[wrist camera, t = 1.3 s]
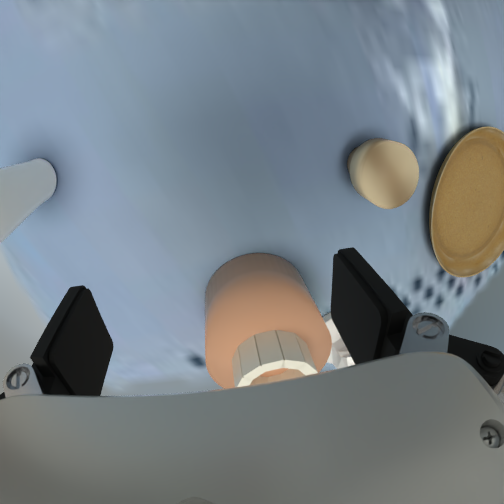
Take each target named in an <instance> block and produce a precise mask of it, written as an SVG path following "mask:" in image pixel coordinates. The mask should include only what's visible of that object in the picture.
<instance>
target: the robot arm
mask: <svg viewBox="0 0 504 504" xmlns="http://www.w3.org/2000/svg"><path fill="white" fill-rule="evenodd" d="M331 318H332V321H333V323H334V325H335V327H336V328H337V330H338V332H339V334H340V336H341V338H342V340H343V342H344V344H345V346H346V348H347V350H348V352H349V354H350V356H351V357H352V359H353V361H354V363H355V365H351V366H347V367H343V368H339V369H334V370H330V371H325V372H321V373H316V374H311V375H306V376H301V377H296V378H291V379H285V380H280V381H274V382H268V383H262V384H255V385H248V386H241V387H234V388H226V389H217V390H208V391H198V392H187V393H174V394H158V395H136V396H135V395H134V396H100V394H101V390H102V387H103V383H104V379H105V376H106V372H107V369H108V365H109V362H110V358H111V355H112V351H113V342H112V339H111V337H110V335H109V333H108V331H107V328H106V326H105V324H104V322H103V319H102V317H101V315H100V313H99V310H98V308H97V306H96V303H95V301H94V298H93V296H92V293H91V291H90V290H89V289H86V287H85V286H75V287H70V288H69V290H68V292H67V293H66V295H65V296H64V298H63V300H62V301H61V303H60V305H59V306H58V308H57V310H56V311H55V313H54V315H53V316H52V318H51V320H50V322H49V323H48V325H47V327H46V329H45V330H44V332H43V334H42V336H41V338H40V340H39V342H38V344H37V345H36V347H35V349H34V351H33V353H32V355H31V357H30V358H31V359H32V361H33V365H32V366H31V365H29V364H25V363H23V364H19V365H16V366H14V367H13V368H12V369H10V370H9V372H8V373H7V374H6V376H5V377H4V381H3V388H4V392H3V393H2V394H1V395H0V504H504V355H503V354H502V352H501V351H499V350H498V349H496V348H494V347H491V346H488V345H484V344H481V343H477V342H474V341H470V340H466V339H463V338H459V337H456V336H452V335H449V326H448V324H447V322H446V321H445V320H444V319H443V318H441V317H439V316H438V315H435V314H432V313H426V312H424V313H418V314H415V315H412V313H411V312H410V311H409V310H408V309H407V307H406V306H405V305H404V304H403V303H402V301H401V300H400V299H399V298H398V297H397V296H396V294H395V293H394V292H393V291H392V290H391V289H390V287H389V286H388V285H387V284H386V283H385V282H384V280H383V279H382V278H381V277H380V276H379V275H378V274H377V273H376V272H375V270H374V269H373V268H372V267H371V266H370V265H369V264H368V263H367V261H366V260H365V259H364V258H363V257H362V256H361V255H360V254H359V253H358V252H357V250H356V249H355V248H346V249H340V250H338V254H334V257H333V278H332V296H331Z"/></svg>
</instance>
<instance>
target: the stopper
mask: <svg viewBox="0 0 504 504" xmlns="http://www.w3.org/2000/svg"><path fill="white" fill-rule="evenodd" d="M347 167H348V171H349V173H350V178H351V182H352V184H353V186H354V188H355V190H356V191H357V192H358V193H359V194H360V195H361V196H362V197H364V198H365V199H367V200H369V201H370V202H372V203H373V204H375V205H376V206H378V207H381V208H384V209H393V208H397V207H399V206H401V205H403V204H404V203H405V202H407V201H408V200H409V198H410V197H411V196H412V194H413V193H414V191H415V189H416V186H417V183H418V178H419V167H418V163H417V160H416V157H415V155H414V154H413V152H412V151H411V150H410V149H409V148H408V147H407V146H405V145H404V144H402V143H399V142H395V141H391V140H387V139H383V138H374V139H370V140H368V141H366V142H364V143H363V144H361V145H360V146H359V147H356V148H355V149H354V150H353V151H352V152H351V153H350V155H349V157H348V161H347Z"/></svg>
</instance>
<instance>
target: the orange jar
mask: <svg viewBox="0 0 504 504" xmlns="http://www.w3.org/2000/svg"><path fill="white" fill-rule="evenodd" d="M331 348H332V339H331V335H330V332H329V330H328V328H327V326H326V324H325V322H324V320H323V318H322V316H321V314H320V312H319V310H318V308H317V306H316V304H315V302H314V300H313V298H312V296H311V294H310V293H309V291H308V289H307V287H306V285H305V283H304V281H303V279H302V277H301V275H300V274H299V272H298V270H297V269H296V268H295V267H294V266H293V265H292V264H291V263H290V262H288V261H287V260H285V259H283V258H281V257H279V256H276V255H272V254H267V253H252V254H246V255H242V256H239V257H236V258H234V259H232V260H230V261H228V262H227V263H225V264H224V265H222V266H221V267H220V268H219V269H218V270H217V271H216V272H215V273H214V274H213V276H212V277H211V279H210V281H209V283H208V285H207V288H206V292H205V355H206V367H207V370H208V372H209V374H210V376H211V377H212V379H213V380H214V381H215V382H216V383H217V384H218V385H220V386H221V387H223V388H224V389H226V388H234V387H241V386H248V385H255V384H262V383H268V382H274V381H280V380H285V379H291V378H296V377H301V376H306V375H311V374H316V373H319V372H320V370H321V369H322V368H323V367H324V365H325V364H326V362H327V360H328V358H329V356H330V353H331Z"/></svg>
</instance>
